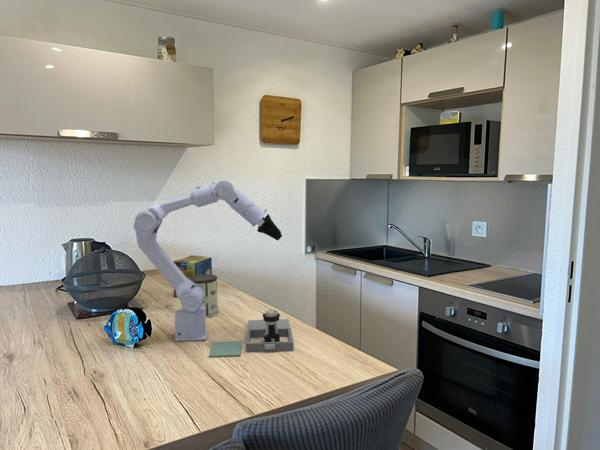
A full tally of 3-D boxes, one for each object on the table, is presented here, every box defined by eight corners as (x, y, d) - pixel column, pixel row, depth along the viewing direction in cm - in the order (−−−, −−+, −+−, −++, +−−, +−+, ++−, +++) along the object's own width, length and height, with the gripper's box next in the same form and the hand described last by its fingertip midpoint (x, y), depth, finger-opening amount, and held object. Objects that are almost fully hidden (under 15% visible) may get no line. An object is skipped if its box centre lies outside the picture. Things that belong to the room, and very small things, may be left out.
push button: (262, 348, 138) (262, 315, 137) (256, 342, 142) (255, 311, 141) (282, 344, 141) (282, 312, 139) (276, 338, 145) (275, 308, 144)
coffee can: (194, 309, 177) (193, 273, 175) (220, 310, 176) (220, 274, 174) (185, 317, 167) (184, 280, 165) (213, 318, 166) (212, 280, 164)
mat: (208, 357, 131) (208, 355, 131) (212, 343, 142) (212, 341, 141) (240, 356, 131) (240, 354, 131) (242, 342, 142) (241, 340, 142)
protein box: (173, 297, 194) (172, 261, 193) (192, 288, 209) (191, 255, 207) (195, 299, 191) (194, 262, 190) (212, 290, 206) (212, 256, 204)
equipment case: (245, 353, 134) (245, 345, 133) (248, 323, 160) (248, 316, 160) (293, 351, 135) (293, 343, 135) (288, 322, 161) (288, 315, 161)
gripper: (254, 200, 137) (289, 229, 139) (255, 198, 151) (286, 224, 153) (239, 218, 137) (274, 247, 139) (241, 214, 152) (273, 240, 153)
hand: (279, 236), depth 146 cm, fingers open, 7 cm apart
